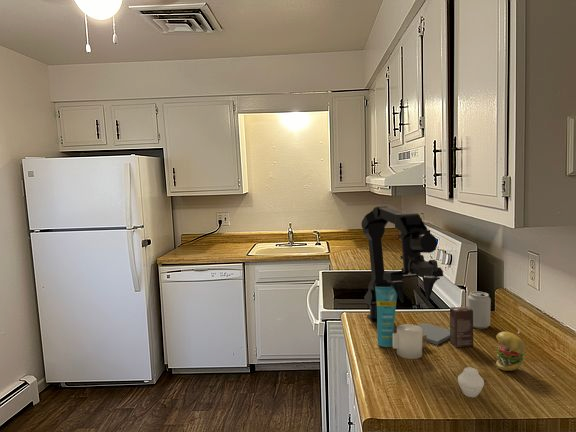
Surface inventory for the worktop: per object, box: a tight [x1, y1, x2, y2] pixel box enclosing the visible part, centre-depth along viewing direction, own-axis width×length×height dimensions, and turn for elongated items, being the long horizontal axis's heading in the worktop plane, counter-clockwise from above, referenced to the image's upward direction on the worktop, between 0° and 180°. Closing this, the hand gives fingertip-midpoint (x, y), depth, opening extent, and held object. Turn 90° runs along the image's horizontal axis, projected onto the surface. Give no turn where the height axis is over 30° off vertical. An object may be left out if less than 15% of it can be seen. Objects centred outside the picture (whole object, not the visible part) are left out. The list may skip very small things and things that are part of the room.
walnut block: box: [422, 333, 428, 349], centre depth 133 cm, size 4×4×4 cm
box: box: [449, 305, 474, 348], centre depth 133 cm, size 6×4×12 cm
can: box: [467, 290, 492, 330], centre depth 149 cm, size 8×8×12 cm
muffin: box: [457, 366, 485, 398], centre depth 104 cm, size 6×6×7 cm
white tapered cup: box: [392, 323, 423, 360], centre depth 127 cm, size 9×8×8 cm
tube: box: [375, 286, 398, 348], centre depth 134 cm, size 7×5×19 cm, turn 98°
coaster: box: [417, 322, 450, 346], centre depth 142 cm, size 12×12×1 cm
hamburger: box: [495, 329, 526, 372], centre depth 116 cm, size 8×7×12 cm
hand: (415, 300), depth 132 cm, fingers open, 9 cm apart
